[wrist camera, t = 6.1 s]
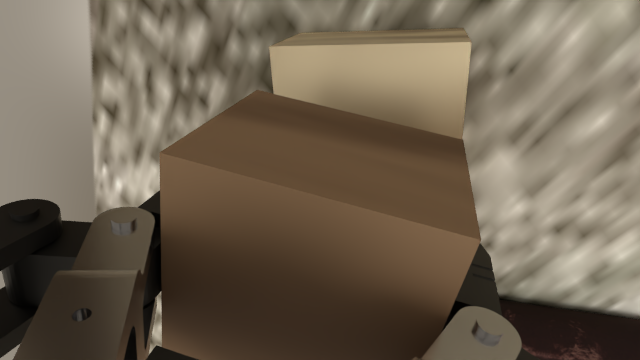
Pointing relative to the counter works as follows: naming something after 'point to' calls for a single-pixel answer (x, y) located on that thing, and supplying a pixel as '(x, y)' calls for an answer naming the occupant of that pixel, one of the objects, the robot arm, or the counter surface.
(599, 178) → the counter surface
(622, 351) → the diary
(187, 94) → the counter surface
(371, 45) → the maple block
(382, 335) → the walnut block
